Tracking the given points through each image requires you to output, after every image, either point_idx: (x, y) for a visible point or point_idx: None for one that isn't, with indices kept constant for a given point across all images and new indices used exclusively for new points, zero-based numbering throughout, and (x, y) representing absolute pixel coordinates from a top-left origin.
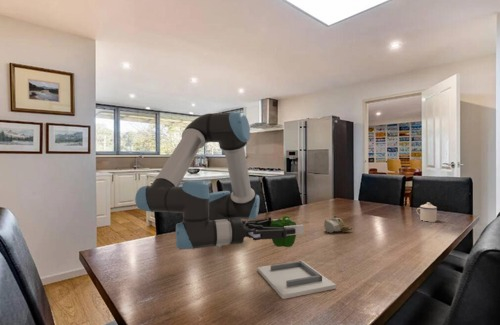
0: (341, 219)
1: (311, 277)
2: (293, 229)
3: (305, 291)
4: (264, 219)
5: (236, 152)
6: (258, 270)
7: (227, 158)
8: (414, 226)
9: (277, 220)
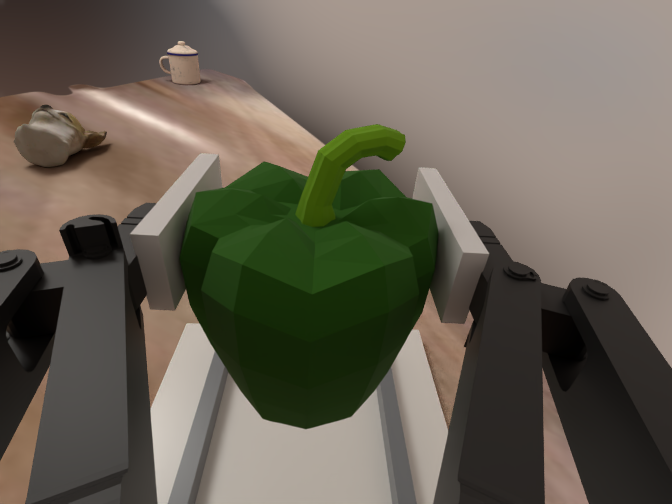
0: (67, 112)
1: (388, 375)
2: (492, 234)
3: None
4: (11, 285)
5: None
6: None
7: None
8: (190, 97)
9: (223, 216)
